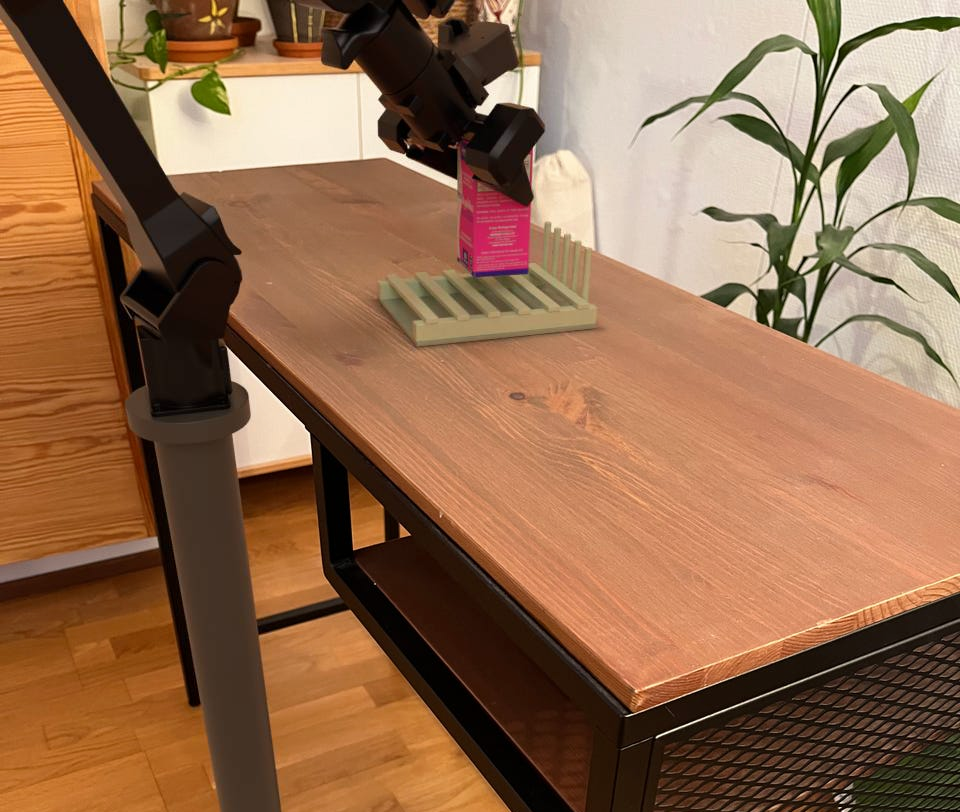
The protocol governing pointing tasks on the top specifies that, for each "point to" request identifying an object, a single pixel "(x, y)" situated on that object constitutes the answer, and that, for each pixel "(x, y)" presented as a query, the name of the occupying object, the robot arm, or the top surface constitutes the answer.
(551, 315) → the drying rack
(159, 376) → the robot arm
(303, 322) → the top surface
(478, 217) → the supplement box
